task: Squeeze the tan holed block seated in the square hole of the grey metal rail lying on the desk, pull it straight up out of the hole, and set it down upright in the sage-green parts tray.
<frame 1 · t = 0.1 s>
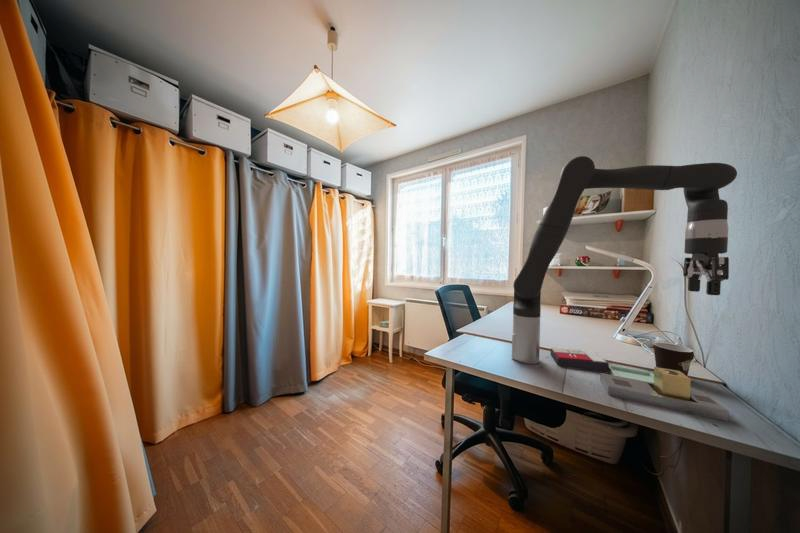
hand: (702, 293, 68), 29 cm above the table, fingers open, 8 cm apart
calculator: (577, 364, 87), on the table
tan holed block: (670, 401, 64), resting in rail
rail: (654, 398, 65), on the table
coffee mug: (677, 378, 77), on the table
tray: (634, 379, 75), on the table
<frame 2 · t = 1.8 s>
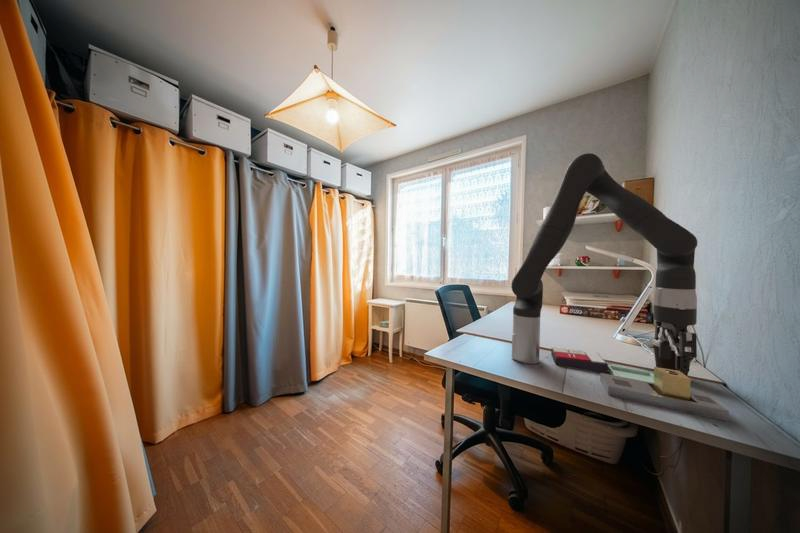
hand: (673, 364, 63), 10 cm above the table, fingers open, 8 cm apart
nothing on the table moved.
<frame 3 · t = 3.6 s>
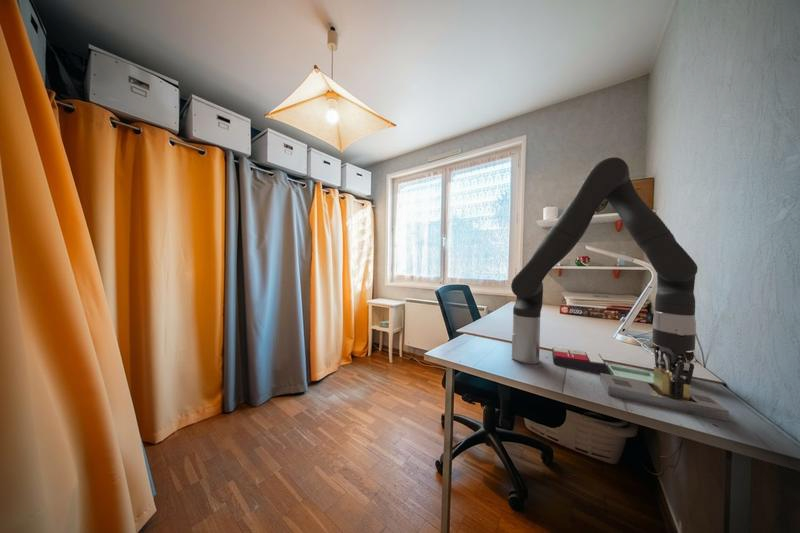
hand: (670, 390, 63), 3 cm above the table, fingers closed on tan holed block, 5 cm apart
tan holed block: (670, 401, 64), resting in rail, touching gripper
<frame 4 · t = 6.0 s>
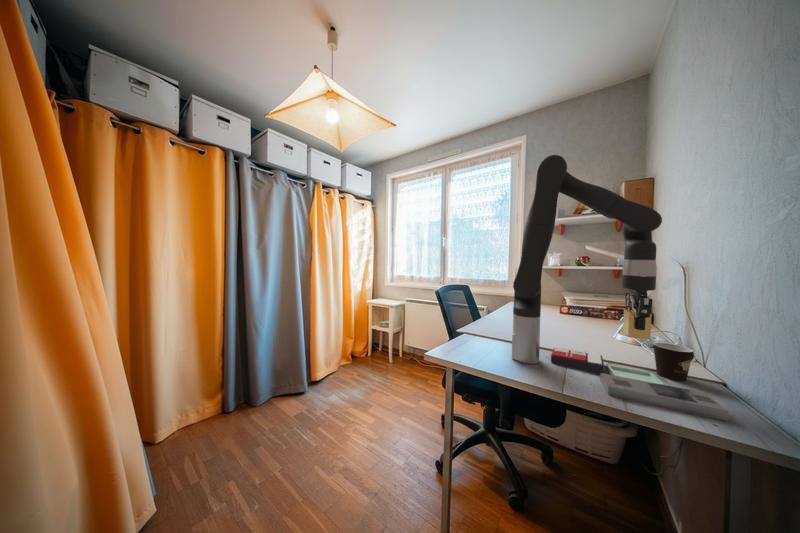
hand: (636, 327, 74), 17 cm above the table, fingers closed on tan holed block, 5 cm apart
tan holed block: (635, 336, 74), point 14 cm above the table, touching gripper
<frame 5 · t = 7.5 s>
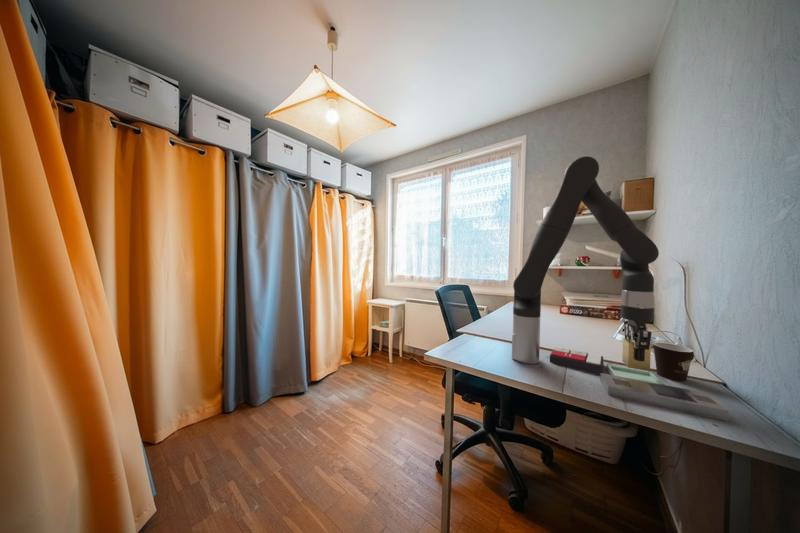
hand: (635, 357, 75), 7 cm above the table, fingers closed on tan holed block, 5 cm apart
tan holed block: (635, 366, 75), point 4 cm above the table, touching gripper
when the fingers open (5 cm above the table, at t = 8.8 s): tan holed block drops 1 cm, resting on tray.
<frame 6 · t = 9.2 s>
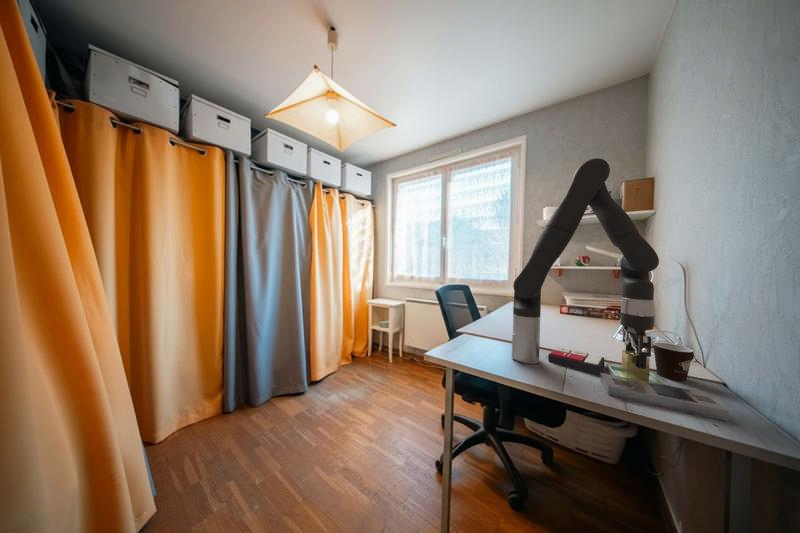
hand: (635, 362, 75), 6 cm above the table, fingers open, 8 cm apart
tan holed block: (634, 378, 75), resting on tray
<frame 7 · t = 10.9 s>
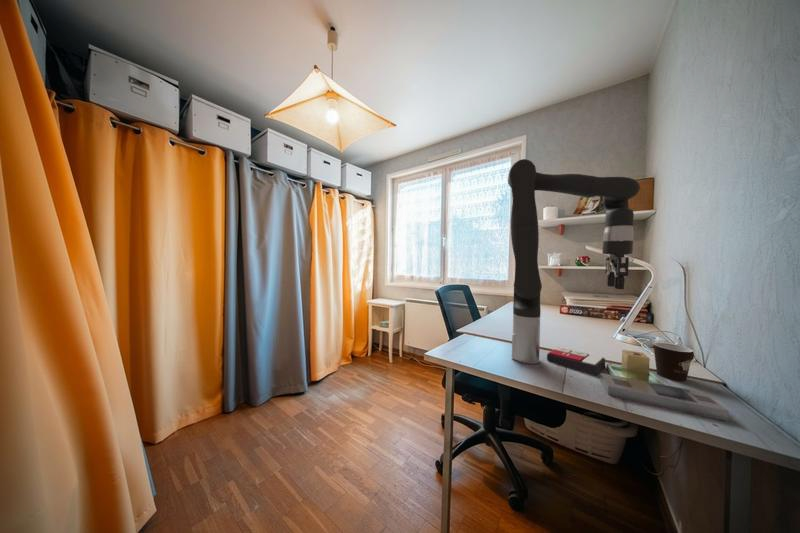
hand: (614, 287, 80), 29 cm above the table, fingers open, 8 cm apart
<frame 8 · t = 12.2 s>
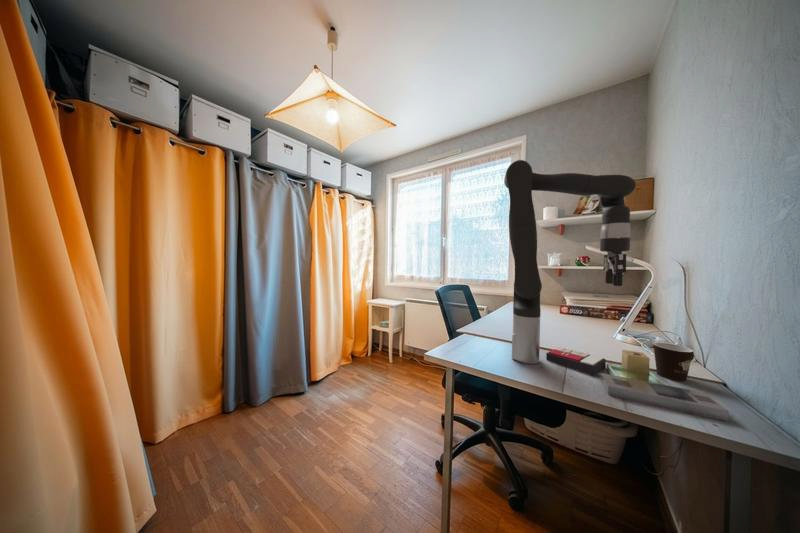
hand: (613, 284, 80), 30 cm above the table, fingers open, 8 cm apart
at the end: tan holed block inside the target area on the tray (0.0 cm from its centre), point 0.4 cm above the tray's base; tan holed block tilted 0°; tan holed block touching tray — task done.
